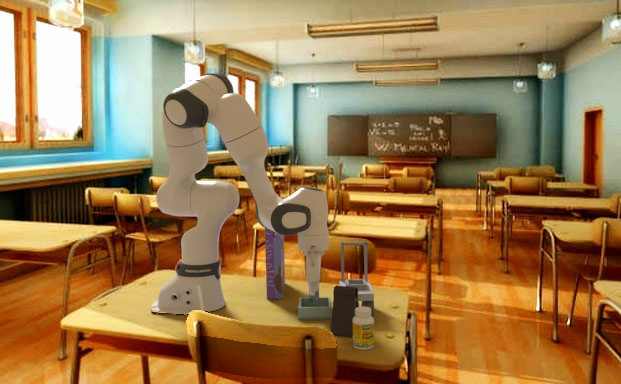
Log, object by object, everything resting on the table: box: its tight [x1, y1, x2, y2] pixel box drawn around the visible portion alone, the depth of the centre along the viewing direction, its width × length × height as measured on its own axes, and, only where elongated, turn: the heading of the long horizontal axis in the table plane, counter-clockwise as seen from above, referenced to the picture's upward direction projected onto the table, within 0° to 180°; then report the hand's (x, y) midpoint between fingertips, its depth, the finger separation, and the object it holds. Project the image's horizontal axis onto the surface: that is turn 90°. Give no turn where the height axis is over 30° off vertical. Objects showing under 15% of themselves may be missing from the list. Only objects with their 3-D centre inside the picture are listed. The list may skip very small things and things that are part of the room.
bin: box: [297, 296, 333, 321], centre depth 158 cm, size 10×10×4 cm
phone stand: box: [329, 285, 360, 338], centre depth 144 cm, size 9×6×12 cm, turn 157°
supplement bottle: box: [352, 306, 375, 351], centre depth 134 cm, size 5×5×10 cm
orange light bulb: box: [308, 282, 320, 303], centre depth 157 cm, size 4×4×8 cm
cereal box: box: [264, 228, 286, 300], centre depth 180 cm, size 17×5×24 cm, turn 179°
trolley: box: [339, 241, 375, 319], centre depth 156 cm, size 9×14×20 cm, turn 0°
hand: (314, 289), depth 157 cm, fingers closed on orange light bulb, 3 cm apart
